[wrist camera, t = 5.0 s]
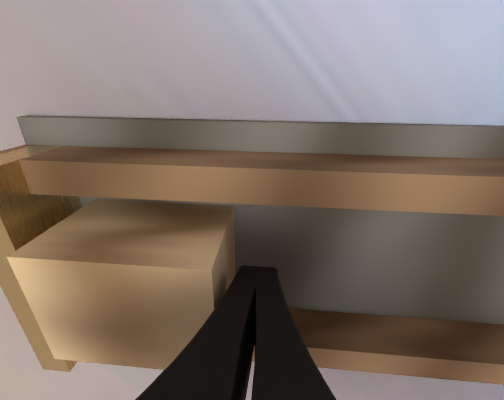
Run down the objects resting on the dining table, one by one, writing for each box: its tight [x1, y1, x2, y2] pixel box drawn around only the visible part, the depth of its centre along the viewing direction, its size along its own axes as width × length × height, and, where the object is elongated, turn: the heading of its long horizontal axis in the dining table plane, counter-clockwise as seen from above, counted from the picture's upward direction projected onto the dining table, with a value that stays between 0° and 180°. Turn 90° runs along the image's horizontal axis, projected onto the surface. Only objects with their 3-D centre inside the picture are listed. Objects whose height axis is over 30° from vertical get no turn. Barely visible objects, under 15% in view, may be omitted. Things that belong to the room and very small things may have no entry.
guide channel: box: [0, 116, 504, 385], centre depth 11 cm, size 22×11×2 cm, turn 90°
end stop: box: [0, 145, 82, 372], centre depth 11 cm, size 1×9×4 cm, turn 0°
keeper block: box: [7, 199, 235, 370], centre depth 10 cm, size 6×4×4 cm
